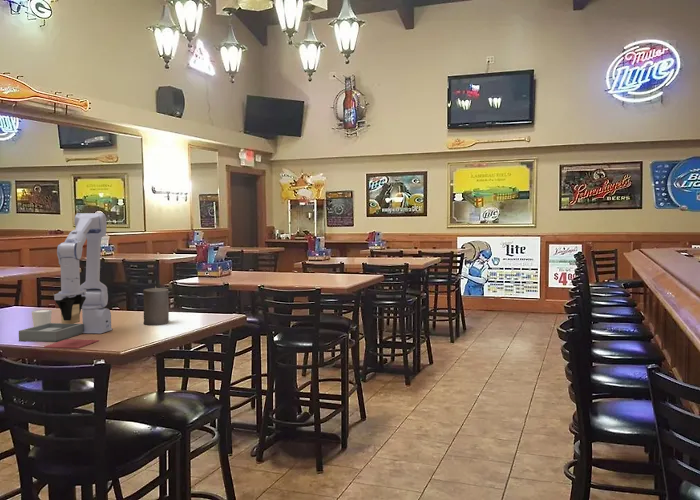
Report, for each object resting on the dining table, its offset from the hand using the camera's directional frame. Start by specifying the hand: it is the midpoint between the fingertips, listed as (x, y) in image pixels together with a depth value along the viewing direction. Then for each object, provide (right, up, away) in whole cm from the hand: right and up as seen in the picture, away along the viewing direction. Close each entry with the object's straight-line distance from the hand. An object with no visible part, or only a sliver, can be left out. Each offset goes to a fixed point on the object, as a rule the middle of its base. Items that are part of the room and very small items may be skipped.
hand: (71, 319), depth 199 cm
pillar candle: (+15, -7, +41) cm, 44 cm away
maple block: (0, -1, 0) cm, 1 cm away
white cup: (-25, -7, +30) cm, 39 cm away
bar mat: (0, -8, 0) cm, 8 cm away
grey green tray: (-13, -8, +14) cm, 20 cm away
